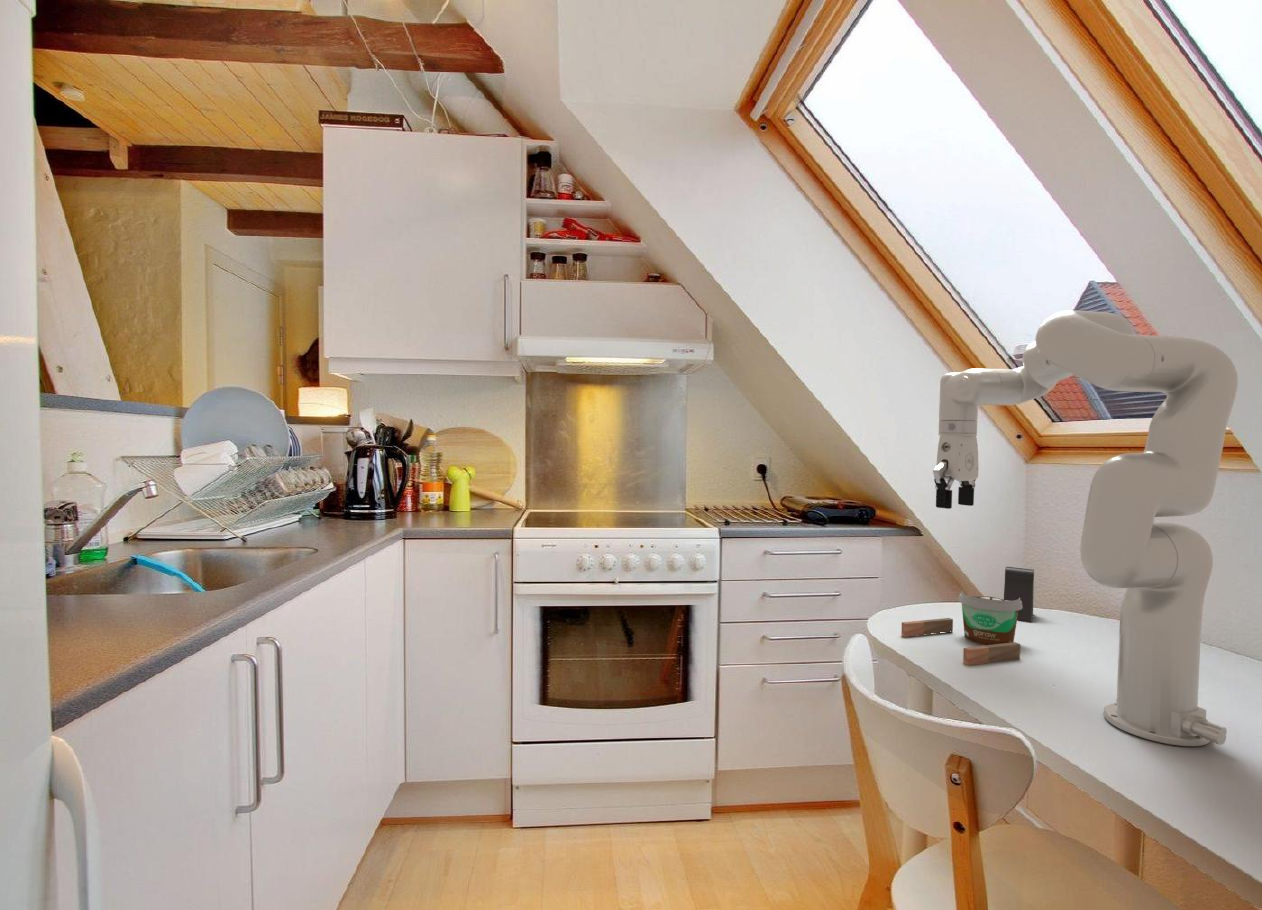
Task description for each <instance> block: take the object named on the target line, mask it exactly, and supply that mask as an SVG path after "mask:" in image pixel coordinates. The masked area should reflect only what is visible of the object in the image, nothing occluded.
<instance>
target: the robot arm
mask: <svg viewBox="0 0 1262 910" xmlns="http://www.w3.org/2000/svg"><path fill="white" fill-rule="evenodd" d="M1231 359H1232V358H1230V357H1229V356H1228V354H1227V353H1225V352H1224V351H1223V350H1222V349H1220V348H1219V347H1217V346H1215V345H1213V344H1211V343H1209V342H1206V341H1203V340H1200V339H1196V338H1191V337H1184V336H1183V337H1182V336H1174V335H1173V336H1172V335H1171V336H1170V335H1147V334H1136V333H1135V329H1134V327H1133V325H1132V323H1130V321H1129V320H1128V319H1126V318H1125V317H1123V316H1121V315H1119V314H1117V313H1113V312H1107V311H1095V310H1094V311H1091V310H1077V309H1075V310H1074V309H1073V310H1072V309H1071V310H1070V309H1068V310H1062V311H1059V312H1058V311H1057V312H1055V313H1054V314H1052V315H1050V316H1049V317H1047V318H1046V319H1045V320H1044V321H1043V322H1042V323H1041V325H1040V326H1039V327H1038V329H1037V332H1036V334H1035V340H1034V341H1032V342H1030V343H1029V344H1028V345H1027V346H1026V347H1025V349H1024V351H1023V354H1022V364H1023V366H1019V367H1016V368H1013V369H1008V368H983V367H982V368H979V367H978V368H977V367H976V368H969V369H966V370H963V371H958V372H957V371H956V372H948V373H945V374H943V375H942V376H941V378H940V381H939V382H940V383H939V409H938V410H939V412H938V433H937V434H938V436H939V440H938V444H937V451H936V452H937V455H936V466H935V468H934V469H933V470H932V471H933V472H932V473H933V478H934V479H933V480H934V481H933V482H934V483H935V488H934V489H935V490H936V491H935V507H936V508H938V509H948V510H949V509H952V507H953V506H952V504H953V490H952V489H951V488H952V486H953V484H954V482H955V481H956V482H958V483H959V485H960V486H958V494H957V497H958V498H957V503H958V505H961V506H968V507H969V506H970V507H972V506H974V504H975V503H974V502H975V499H974V498H975V488H976V480H977V479H978V478H979V447H978V439H977V436H978V413H979V411H978V409H979V406H1015V405H1020V404H1023V403H1026V402H1029V401H1032V400H1035V399H1038V398H1040V397H1043V396H1045V395H1047V394H1049V393H1050V392H1051V391H1052V390H1053V389H1054V388H1055V387H1056V385H1057V384H1058V382H1060V381H1063V380H1066V379H1068V378H1070V377H1073V376H1075V377H1078V378H1080V379H1082V380H1083V381H1086V383H1089V384H1091V385H1094V386H1096V387H1098V388H1101V389H1104V390H1108V391H1112V392H1113V391H1114V392H1131V393H1134V392H1135V393H1136V392H1138V393H1162V394H1164V395H1165V396H1166V398H1165V400H1164V401H1163V402H1162V403H1161V404H1160V406H1158V408H1157V410H1156V411H1155V413H1154V415H1153V416H1152V417H1151V418H1152V419H1151V421H1150V423H1149V427H1148V433H1147V438H1146V443H1145V446H1144V450H1143V452H1127V453H1121V454H1117V455H1115V456H1112V457H1111V458H1108V459H1107V460H1105V461H1104V462H1103V463H1102V464H1100V466H1099V467H1098V469H1097V470H1096V471H1095V473H1094V475H1093V477H1092V479H1091V482H1090V486H1089V492H1088V497H1087V502H1086V509H1085V513H1084V519H1083V527H1082V532H1081V537H1080V550H1079V551H1080V560H1081V563H1082V566H1083V569H1084V570H1085V572H1086V574H1087V575H1088V576H1089V577H1090V578H1091V579H1092V580H1093V581H1094V582H1096V583H1098V584H1100V585H1102V586H1104V587H1108V588H1114V589H1126V590H1125V592H1124V595H1123V597H1122V601H1121V605H1120V613H1119V631H1118V633H1119V634H1118V635H1119V636H1118V657H1117V659H1118V661H1117V682H1116V683H1117V684H1116V685H1117V686H1116V687H1117V688H1116V702H1113V703H1109V704H1107V705H1105V706H1104V708H1103V717H1104V718H1105V719H1106V721H1108V722H1109V723H1110V724H1111V725H1113V726H1114V727H1116V728H1118V729H1120V730H1121V731H1124V732H1126V733H1128V734H1131V735H1133V736H1136V737H1139V738H1142V739H1146V740H1149V741H1152V742H1156V743H1161V744H1165V745H1172V746H1180V747H1201V746H1205V745H1207V744H1209V743H1210V742H1212V743H1214V744H1217V745H1219V746H1222V745H1224V744H1225V742H1226V741H1227V732H1228V730H1227V728H1226V727H1225V726H1222V725H1219V724H1217V723H1214V722H1210V721H1209V720H1208V719H1207V709H1205V708H1202V707H1199V706H1198V704H1199V703H1198V702H1199V683H1200V680H1199V679H1200V661H1201V658H1200V657H1201V656H1200V654H1201V636H1202V627H1203V626H1202V623H1203V609H1204V601H1205V597H1206V591H1207V590H1208V589H1207V588H1208V585H1209V582H1210V579H1211V576H1212V572H1213V571H1212V570H1213V565H1214V563H1213V562H1214V557H1213V551H1212V549H1211V546H1210V545H1209V543H1208V541H1207V540H1206V539H1205V537H1204V536H1203V535H1202V534H1200V533H1199V532H1197V530H1195V529H1193V528H1191V527H1188V526H1186V525H1182V524H1179V523H1174V522H1155V518H1164V517H1165V518H1166V517H1167V518H1168V517H1170V518H1171V517H1183V516H1185V517H1187V516H1192V515H1195V514H1198V513H1200V512H1202V511H1203V510H1205V509H1206V508H1207V507H1208V506H1209V505H1210V503H1211V501H1212V500H1213V497H1214V493H1215V488H1216V484H1217V478H1218V474H1219V468H1220V462H1221V458H1222V453H1223V448H1224V444H1225V443H1224V442H1225V435H1226V431H1227V427H1228V422H1229V419H1230V415H1231V412H1232V409H1233V407H1234V403H1235V400H1236V396H1237V392H1238V384H1239V383H1238V382H1239V381H1238V373H1237V369H1236V366H1235V364H1234V362H1233V361H1232V360H1231Z"/></svg>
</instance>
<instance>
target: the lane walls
mask: <svg viewBox="0 0 1262 910" xmlns="http://www.w3.org/2000/svg"><path fill="white" fill-rule="evenodd" d="M953 627H954V619H953V618H951V617H945V618H934V619H925V620H923V619H922V620H914V621H913V620H911V621H902V622H901V631H900V632H901V633H900V634H901V635H903V636H904V637H903V636H902V637H903V638H910V637H909V636H914V637H917V636H916V635H923V636H925V635H924V634H931V633H940V632H950V631H953ZM953 632H954V631H953ZM962 650H963V652H962V658H963V659H962V664H964V665H966V666H973V665H980V664H981V665H982V664H988V663H997V662H1004V661H1012V660H1020V655H1021V644H1020V643H1018V642H1015V641H1014V642H1012V643H1003V644H994V645H977V646H969V647H968V646H967V647H963V648H962Z"/></svg>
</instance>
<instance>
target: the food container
mask: <svg viewBox="0 0 1262 910" xmlns="http://www.w3.org/2000/svg"><path fill="white" fill-rule="evenodd" d="M957 601H958V603H960V604H961V611H962V621H963V622H962V624H963V635H964V638H965V637H966V640H968V641H970V642H972V641H973V643H975V642H976V644H979V645H981V646H985V645H994V644H1003V643H1012V642H1015V635H1016V629H1017V624H1018V623H1017V622H1018V621H1017V617H1018V611H1019V610H1021V609H1022V608H1023V607H1022V601H1020V598H1019V599H1018V600H1014V601H1009V600H1004V598H1003V599H1001V598H999V597H994V596H973V595H968V594H966V593H963V591H962V590H961V591H960V593H959V595H958V598H957Z"/></svg>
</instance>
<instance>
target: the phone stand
mask: <svg viewBox="0 0 1262 910" xmlns="http://www.w3.org/2000/svg"><path fill="white" fill-rule="evenodd" d="M1004 569H1005V570H1004V585H1003V587H1004V588H1003V589H1004V590H1003V600H1009V601H1014V600H1018V599H1019V598H1020V601H1022V607H1023V608H1022V609H1021V610H1019V611H1018V617H1017V620H1018V621H1017V622H1024V621H1025V623H1030V622H1031V621H1033V617H1032V616H1034V591H1035V590H1034V585H1035V584H1034V583H1035V582H1034V581H1035V580H1034V579H1035V570H1034V569H1029V568H1023V567H1021V568H1019V567H1013V566H1005V567H1004ZM1031 623H1032V622H1031Z"/></svg>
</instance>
